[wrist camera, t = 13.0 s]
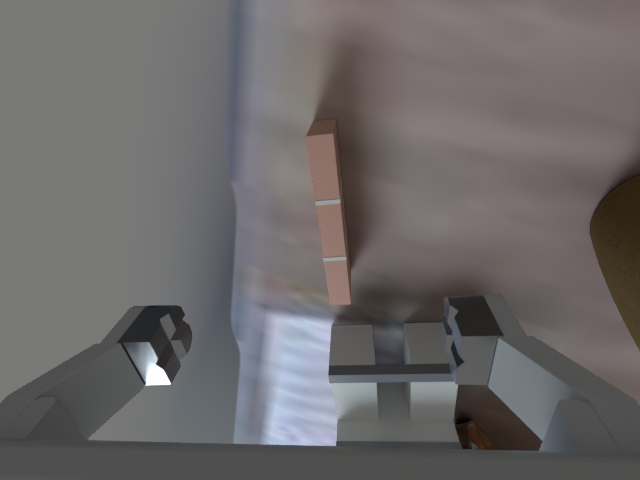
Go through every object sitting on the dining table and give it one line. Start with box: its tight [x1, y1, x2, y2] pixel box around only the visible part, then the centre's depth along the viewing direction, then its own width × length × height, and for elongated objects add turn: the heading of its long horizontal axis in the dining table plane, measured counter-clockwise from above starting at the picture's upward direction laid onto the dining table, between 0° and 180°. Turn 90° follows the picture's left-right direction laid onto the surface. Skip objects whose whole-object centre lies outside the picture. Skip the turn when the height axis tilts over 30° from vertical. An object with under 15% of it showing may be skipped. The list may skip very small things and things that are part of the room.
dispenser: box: [328, 322, 462, 449], centre depth 33 cm, size 11×16×8 cm
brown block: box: [306, 119, 351, 305], centre depth 25 cm, size 2×13×4 cm, turn 7°
